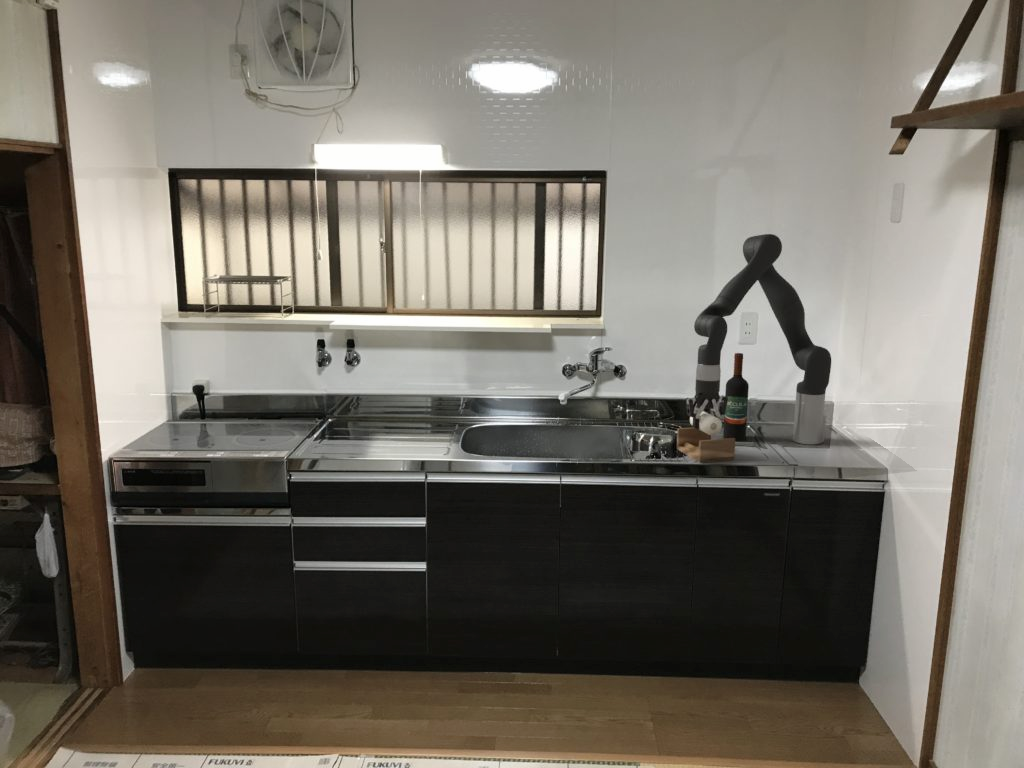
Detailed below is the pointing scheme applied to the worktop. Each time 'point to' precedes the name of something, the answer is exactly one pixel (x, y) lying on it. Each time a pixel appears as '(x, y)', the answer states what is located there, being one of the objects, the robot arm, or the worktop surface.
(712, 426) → the white cylinder
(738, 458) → the worktop surface
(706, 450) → the walnut cradle
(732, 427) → the wine bottle
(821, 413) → the robot arm
